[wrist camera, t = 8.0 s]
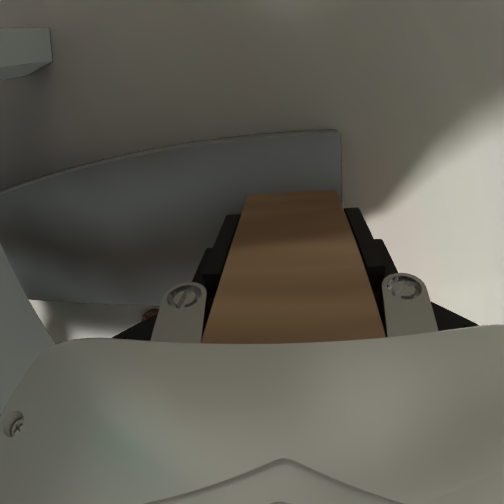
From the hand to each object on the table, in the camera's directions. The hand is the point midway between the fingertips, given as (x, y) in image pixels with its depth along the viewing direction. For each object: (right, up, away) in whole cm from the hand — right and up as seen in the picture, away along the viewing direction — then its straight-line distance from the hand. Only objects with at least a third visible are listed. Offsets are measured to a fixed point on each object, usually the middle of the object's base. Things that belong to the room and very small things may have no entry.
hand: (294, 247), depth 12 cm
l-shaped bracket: (-10, +1, +3) cm, 11 cm away
